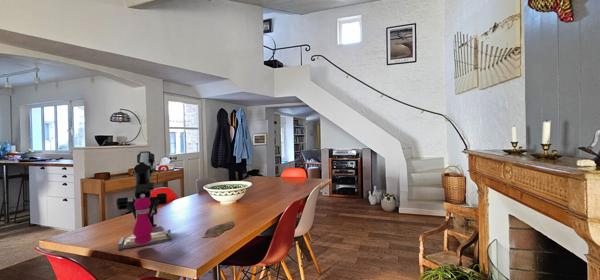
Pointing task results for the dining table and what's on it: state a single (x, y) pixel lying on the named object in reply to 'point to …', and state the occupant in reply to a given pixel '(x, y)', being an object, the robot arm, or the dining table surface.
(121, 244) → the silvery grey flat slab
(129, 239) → the birch offcut stack
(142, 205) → the pepper mill
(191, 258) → the dining table surface
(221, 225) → the wooden fragment
